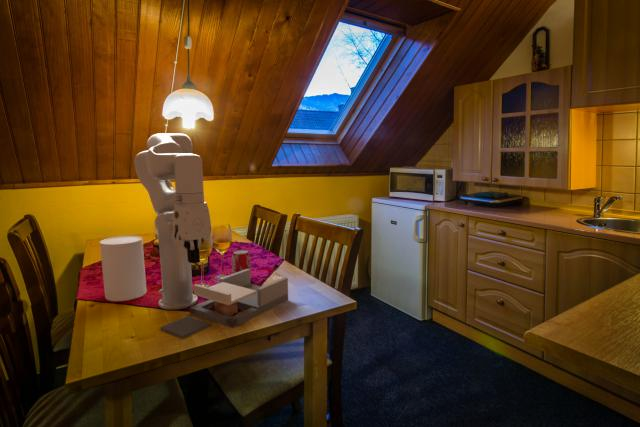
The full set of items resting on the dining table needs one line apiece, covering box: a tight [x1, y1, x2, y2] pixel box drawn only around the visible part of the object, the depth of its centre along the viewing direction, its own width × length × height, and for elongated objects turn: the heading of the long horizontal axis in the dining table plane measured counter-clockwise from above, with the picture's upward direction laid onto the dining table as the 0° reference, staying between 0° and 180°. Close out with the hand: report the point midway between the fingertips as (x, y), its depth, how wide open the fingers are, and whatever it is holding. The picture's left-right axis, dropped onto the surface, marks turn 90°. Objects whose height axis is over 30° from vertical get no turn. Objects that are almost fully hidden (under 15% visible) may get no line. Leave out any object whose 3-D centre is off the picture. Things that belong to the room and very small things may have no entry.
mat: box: [160, 315, 212, 339], centre depth 121 cm, size 10×10×1 cm
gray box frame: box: [189, 269, 289, 329], centre depth 136 cm, size 19×26×8 cm
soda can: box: [231, 249, 252, 280], centre depth 161 cm, size 7×7×12 cm
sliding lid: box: [193, 282, 257, 305], centre depth 130 cm, size 15×12×3 cm
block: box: [214, 301, 239, 317], centre depth 131 cm, size 5×5×6 cm
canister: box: [99, 235, 148, 302], centre depth 147 cm, size 14×14×20 cm
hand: (193, 262), depth 119 cm, fingers closed
